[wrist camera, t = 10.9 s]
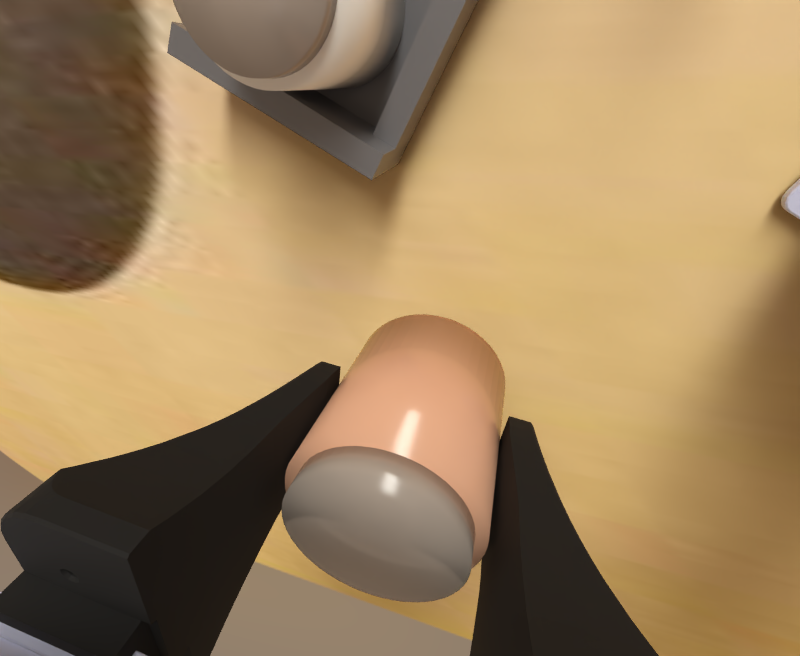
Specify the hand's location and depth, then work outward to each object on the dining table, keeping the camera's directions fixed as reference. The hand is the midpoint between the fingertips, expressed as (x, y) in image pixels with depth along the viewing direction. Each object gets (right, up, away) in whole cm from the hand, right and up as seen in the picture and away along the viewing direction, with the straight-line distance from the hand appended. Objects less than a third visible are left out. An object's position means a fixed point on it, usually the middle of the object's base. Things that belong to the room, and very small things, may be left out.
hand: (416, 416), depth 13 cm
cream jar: (-3, +14, +3) cm, 15 cm away
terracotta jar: (+1, +1, +2) cm, 2 cm away
